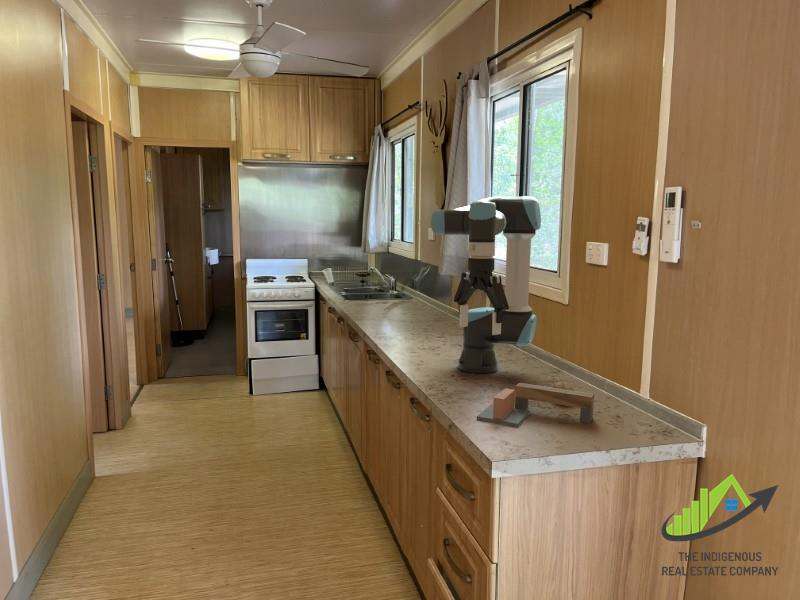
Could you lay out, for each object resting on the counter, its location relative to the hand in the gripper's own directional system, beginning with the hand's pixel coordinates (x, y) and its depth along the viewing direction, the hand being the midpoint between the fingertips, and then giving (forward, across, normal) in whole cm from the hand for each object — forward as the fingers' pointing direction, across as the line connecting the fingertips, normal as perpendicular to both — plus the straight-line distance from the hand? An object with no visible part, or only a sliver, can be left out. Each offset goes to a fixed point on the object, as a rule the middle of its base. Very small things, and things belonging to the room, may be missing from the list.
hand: (479, 330), depth 164 cm
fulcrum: (+25, +7, +4) cm, 26 cm away
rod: (+21, +14, +17) cm, 30 cm away
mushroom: (+25, +8, +30) cm, 40 cm away
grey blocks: (+25, +14, +17) cm, 33 cm away
